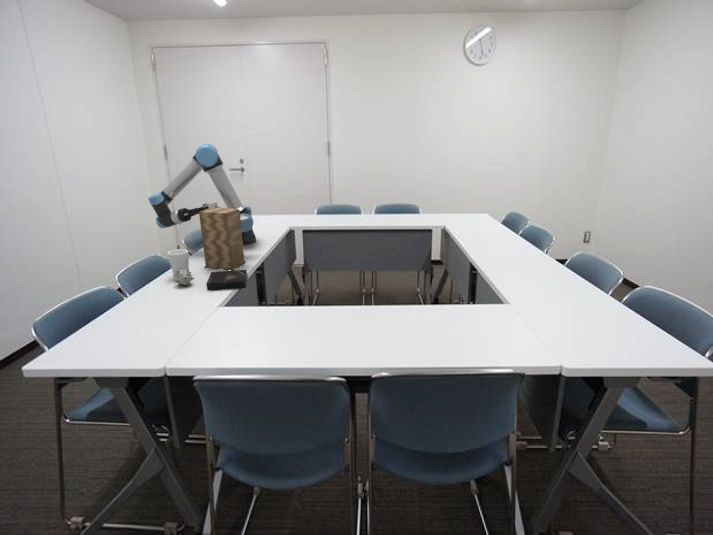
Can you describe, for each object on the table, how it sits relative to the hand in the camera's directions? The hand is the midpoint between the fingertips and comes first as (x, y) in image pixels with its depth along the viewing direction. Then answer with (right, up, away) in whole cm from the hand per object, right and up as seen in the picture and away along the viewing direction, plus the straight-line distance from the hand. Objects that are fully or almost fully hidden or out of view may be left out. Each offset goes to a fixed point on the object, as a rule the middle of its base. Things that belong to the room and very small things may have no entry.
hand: (215, 205), depth 222 cm
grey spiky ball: (-2, -43, -34) cm, 55 cm away
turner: (+5, -6, +1) cm, 8 cm away
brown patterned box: (+8, -34, -7) cm, 36 cm away
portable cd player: (+17, -43, -31) cm, 56 cm away
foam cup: (-8, -40, -24) cm, 47 cm away
